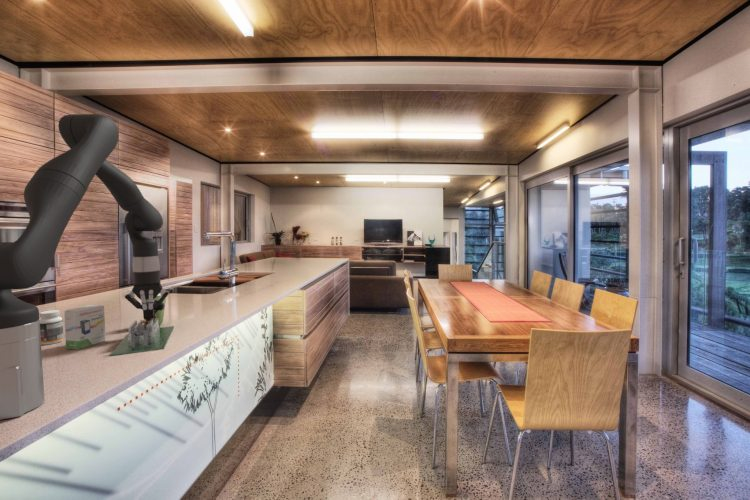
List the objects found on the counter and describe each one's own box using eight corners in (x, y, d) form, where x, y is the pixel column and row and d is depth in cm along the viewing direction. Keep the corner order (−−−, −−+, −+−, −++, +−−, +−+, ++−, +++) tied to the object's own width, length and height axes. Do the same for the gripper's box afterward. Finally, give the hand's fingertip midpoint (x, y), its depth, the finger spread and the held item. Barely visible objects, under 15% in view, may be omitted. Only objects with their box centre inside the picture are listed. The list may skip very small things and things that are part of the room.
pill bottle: (35, 343, 106) (33, 312, 106) (59, 338, 111) (57, 308, 111) (43, 346, 104) (41, 314, 103) (67, 341, 109) (65, 310, 108)
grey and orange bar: (146, 335, 101) (146, 332, 101) (131, 336, 99) (131, 333, 99) (156, 320, 118) (156, 317, 118) (144, 321, 117) (144, 318, 116)
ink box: (93, 339, 110) (91, 304, 109) (106, 340, 109) (104, 304, 108) (64, 349, 101) (62, 310, 100) (78, 350, 100) (76, 311, 99)
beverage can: (145, 324, 127) (144, 293, 127) (168, 322, 130) (166, 291, 130) (142, 328, 122) (140, 296, 121) (165, 326, 125) (164, 294, 124)
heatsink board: (164, 348, 101) (163, 328, 100) (110, 355, 95) (109, 334, 95) (173, 327, 123) (173, 310, 123) (130, 331, 118) (130, 314, 118)
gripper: (119, 272, 107) (122, 325, 108) (167, 269, 113) (170, 320, 114) (125, 269, 114) (128, 319, 115) (170, 267, 120) (172, 315, 121)
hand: (149, 320), depth 115 cm, fingers closed
